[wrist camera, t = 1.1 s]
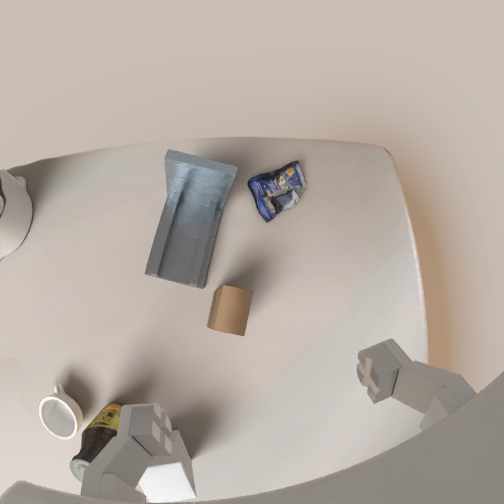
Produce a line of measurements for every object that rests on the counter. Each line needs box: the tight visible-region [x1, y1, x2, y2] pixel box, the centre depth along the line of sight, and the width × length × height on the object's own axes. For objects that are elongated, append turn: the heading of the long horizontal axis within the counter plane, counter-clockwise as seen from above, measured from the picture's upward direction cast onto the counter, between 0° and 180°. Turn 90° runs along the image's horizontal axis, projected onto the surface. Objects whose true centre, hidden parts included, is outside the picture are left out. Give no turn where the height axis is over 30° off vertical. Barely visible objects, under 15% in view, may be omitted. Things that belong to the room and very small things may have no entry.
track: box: [145, 149, 238, 289], centre depth 41 cm, size 10×16×14 cm, turn 169°
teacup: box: [39, 382, 83, 439], centre depth 33 cm, size 10×8×5 cm
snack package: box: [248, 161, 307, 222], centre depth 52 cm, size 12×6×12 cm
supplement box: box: [139, 430, 196, 503], centre depth 32 cm, size 7×7×13 cm
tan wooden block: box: [207, 285, 253, 336], centre depth 41 cm, size 4×6×11 cm, turn 169°
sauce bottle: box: [70, 403, 123, 482], centre depth 28 cm, size 7×6×20 cm
